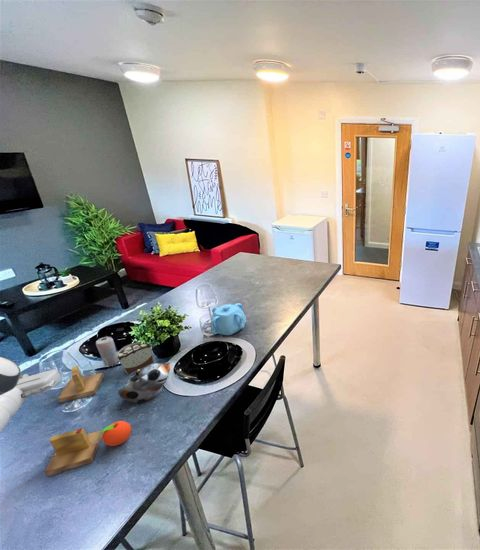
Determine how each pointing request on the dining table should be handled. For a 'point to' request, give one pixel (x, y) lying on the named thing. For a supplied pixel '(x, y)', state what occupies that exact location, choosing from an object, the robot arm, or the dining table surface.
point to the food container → (135, 357)
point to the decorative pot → (228, 319)
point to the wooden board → (75, 456)
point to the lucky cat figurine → (145, 383)
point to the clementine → (116, 433)
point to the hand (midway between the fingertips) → (21, 377)
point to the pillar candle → (107, 351)
